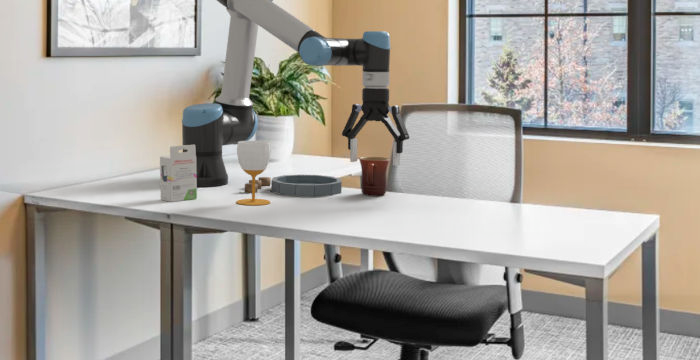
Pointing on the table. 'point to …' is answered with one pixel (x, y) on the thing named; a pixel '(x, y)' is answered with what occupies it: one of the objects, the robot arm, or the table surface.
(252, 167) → the cup
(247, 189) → the bead
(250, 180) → the bead
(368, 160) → the mug
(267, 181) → the bead
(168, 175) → the ink box
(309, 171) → the table surface
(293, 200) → the table surface
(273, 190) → the tray
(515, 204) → the table surface
